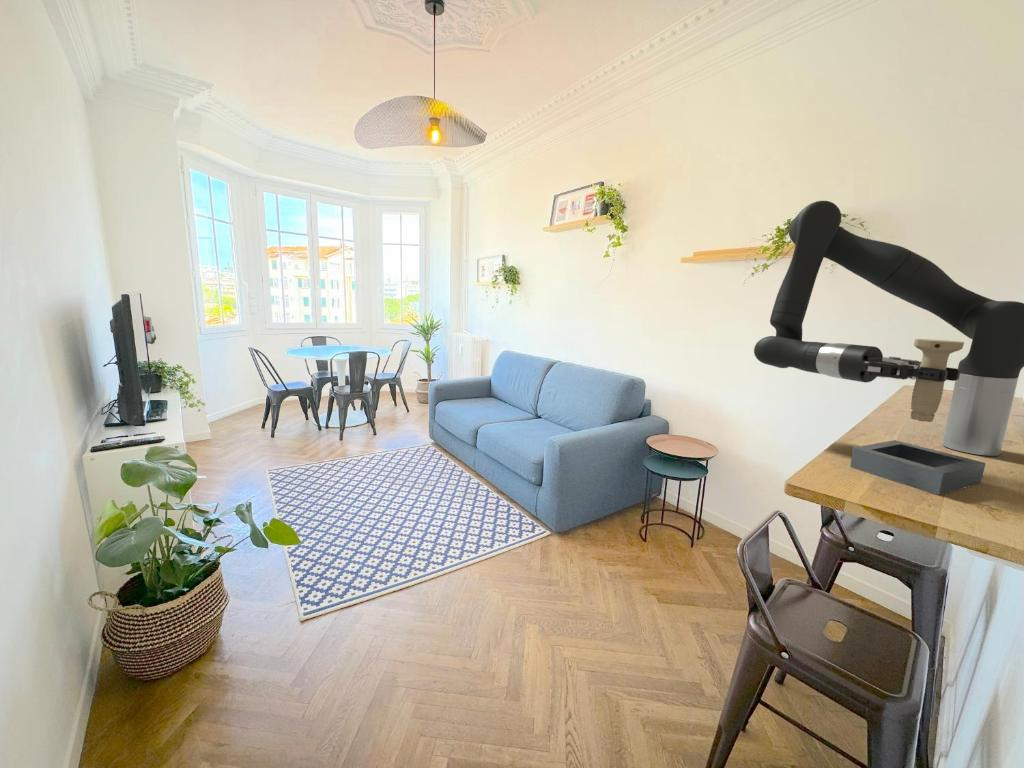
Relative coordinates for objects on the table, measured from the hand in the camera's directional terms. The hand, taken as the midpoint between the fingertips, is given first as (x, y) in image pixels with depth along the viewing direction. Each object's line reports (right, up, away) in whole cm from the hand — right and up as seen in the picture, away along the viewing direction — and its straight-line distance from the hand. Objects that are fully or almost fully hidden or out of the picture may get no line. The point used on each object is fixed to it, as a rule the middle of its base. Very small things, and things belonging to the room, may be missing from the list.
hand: (951, 375), depth 77 cm
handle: (-1, -8, +4) cm, 10 cm away
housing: (-1, -19, +6) cm, 20 cm away
